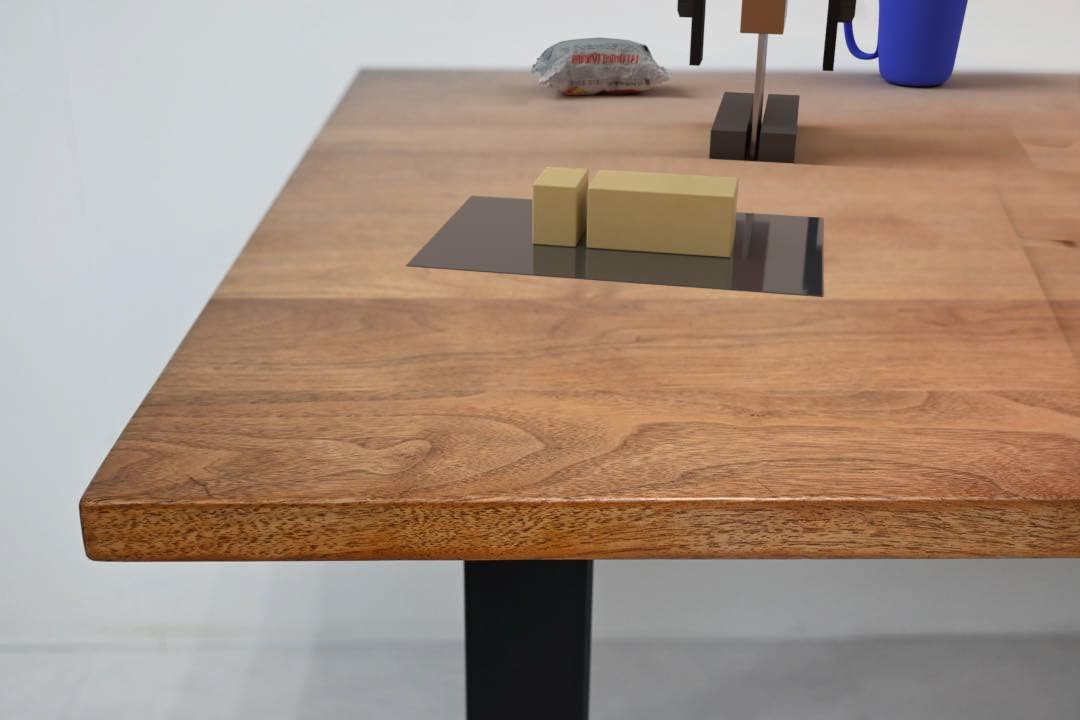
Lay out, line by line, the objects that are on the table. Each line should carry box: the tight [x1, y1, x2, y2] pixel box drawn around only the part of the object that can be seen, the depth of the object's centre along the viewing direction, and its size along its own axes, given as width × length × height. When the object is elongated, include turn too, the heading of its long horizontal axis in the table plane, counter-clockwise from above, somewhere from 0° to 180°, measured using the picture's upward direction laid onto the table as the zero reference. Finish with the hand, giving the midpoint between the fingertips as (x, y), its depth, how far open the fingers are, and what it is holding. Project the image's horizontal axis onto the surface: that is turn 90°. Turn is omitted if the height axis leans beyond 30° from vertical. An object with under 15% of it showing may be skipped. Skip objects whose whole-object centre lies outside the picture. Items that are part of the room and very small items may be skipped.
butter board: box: [405, 195, 824, 298], centre depth 72 cm, size 22×14×1 cm, turn 78°
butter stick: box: [587, 169, 740, 258], centre depth 71 cm, size 8×4×4 cm, turn 78°
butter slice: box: [532, 166, 590, 247], centre depth 72 cm, size 2×4×4 cm, turn 168°
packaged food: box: [530, 37, 673, 96], centre depth 114 cm, size 9×12×5 cm
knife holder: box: [708, 91, 801, 165], centre depth 96 cm, size 6×14×3 cm, turn 168°
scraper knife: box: [739, 0, 789, 160], centre depth 94 cm, size 3×10×12 cm, turn 168°
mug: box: [842, 0, 969, 87], centre depth 121 cm, size 8×12×10 cm
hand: (761, 64), depth 94 cm, fingers open, 9 cm apart
